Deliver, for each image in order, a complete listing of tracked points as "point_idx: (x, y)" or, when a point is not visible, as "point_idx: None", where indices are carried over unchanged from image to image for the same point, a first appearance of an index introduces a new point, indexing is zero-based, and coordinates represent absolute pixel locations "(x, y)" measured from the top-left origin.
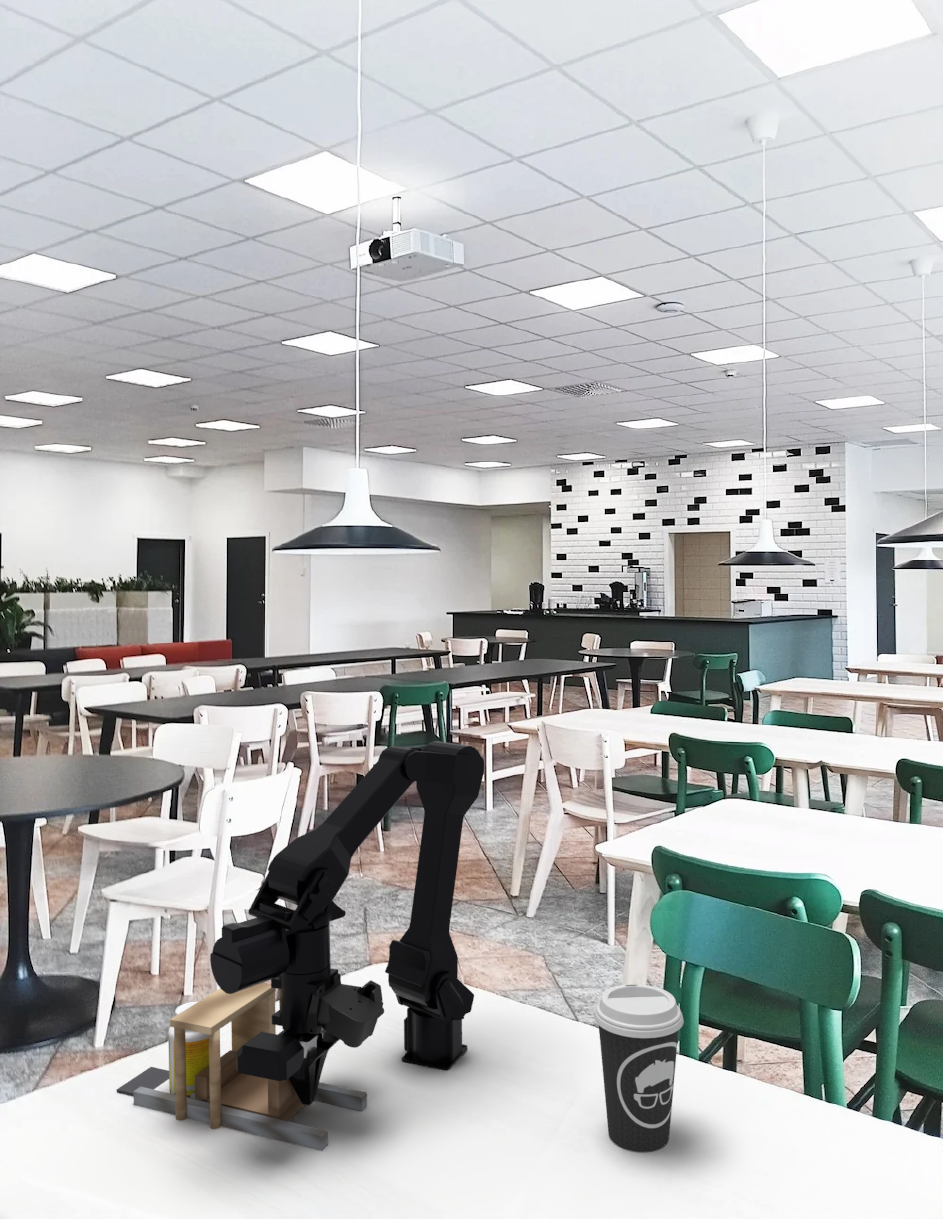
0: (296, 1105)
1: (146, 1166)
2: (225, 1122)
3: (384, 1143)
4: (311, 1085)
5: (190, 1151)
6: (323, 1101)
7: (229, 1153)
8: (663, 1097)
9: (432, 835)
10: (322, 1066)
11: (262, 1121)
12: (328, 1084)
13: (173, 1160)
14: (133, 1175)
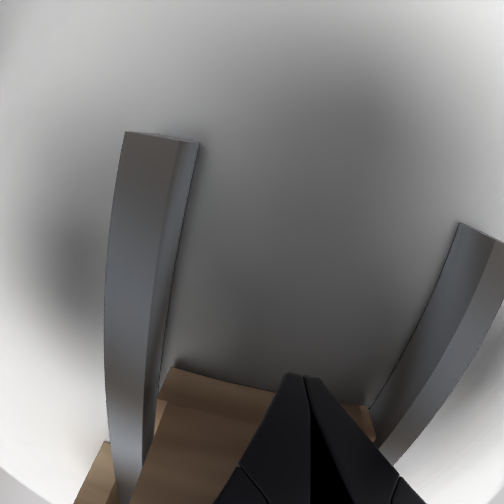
0: (258, 407)
1: (436, 501)
2: None
3: (409, 16)
4: (364, 448)
5: (411, 487)
6: (163, 323)
7: (436, 443)
8: None
9: None
10: (240, 492)
11: (399, 455)
12: (105, 337)
13: (431, 489)
14: (452, 498)
